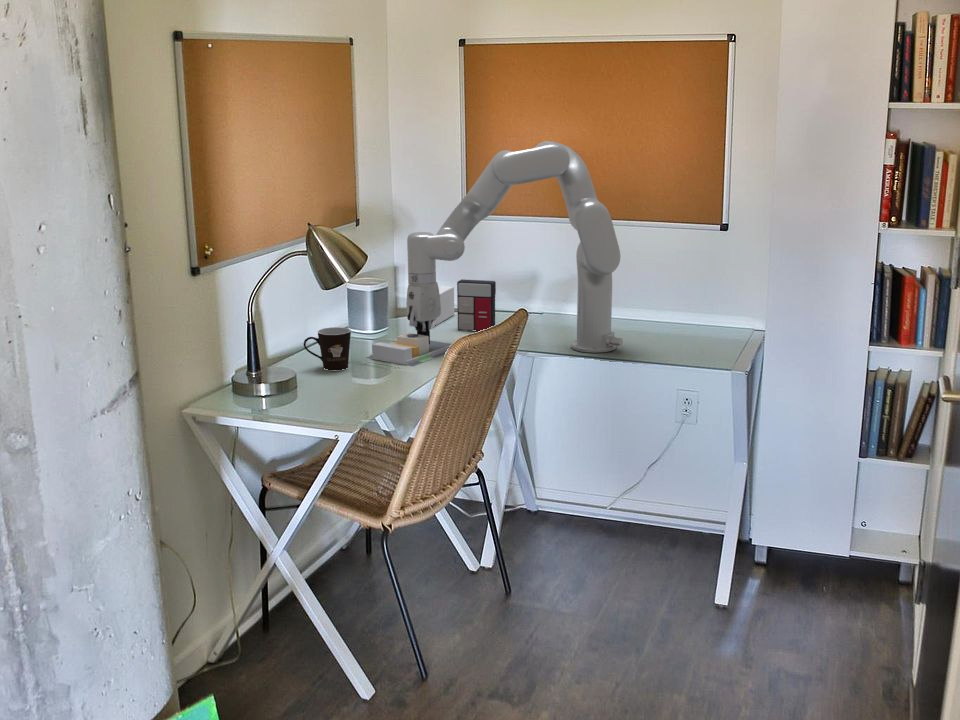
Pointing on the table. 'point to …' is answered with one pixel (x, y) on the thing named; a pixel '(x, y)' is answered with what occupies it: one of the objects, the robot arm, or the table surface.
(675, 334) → the table surface
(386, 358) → the board
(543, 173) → the robot arm
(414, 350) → the orange rectangular block
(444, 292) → the cigarette display
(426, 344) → the block
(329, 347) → the coffee mug
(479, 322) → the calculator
